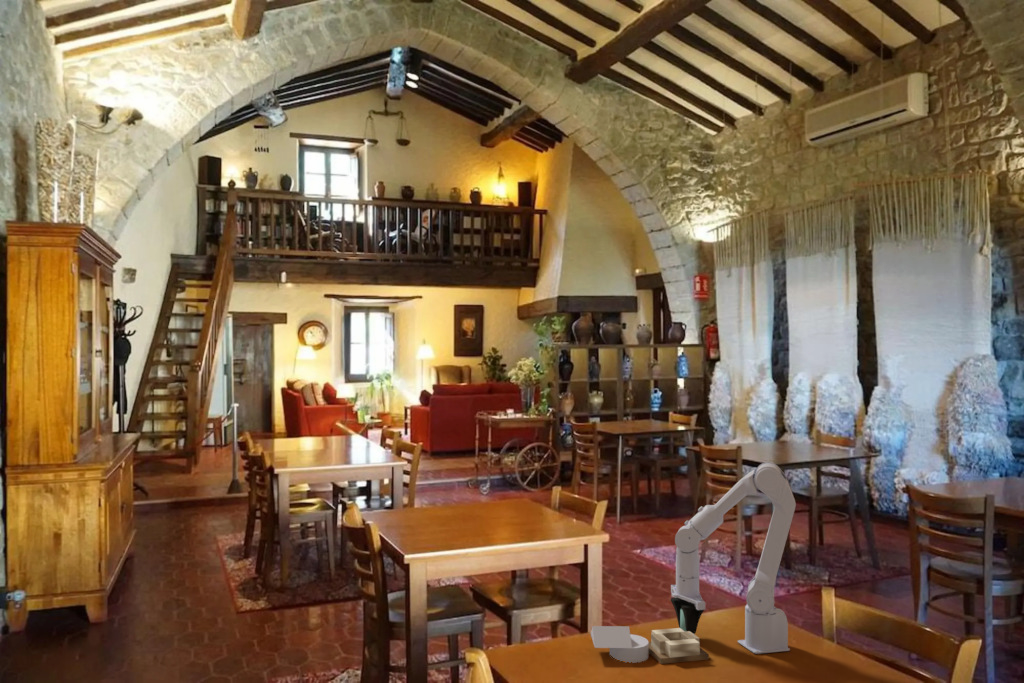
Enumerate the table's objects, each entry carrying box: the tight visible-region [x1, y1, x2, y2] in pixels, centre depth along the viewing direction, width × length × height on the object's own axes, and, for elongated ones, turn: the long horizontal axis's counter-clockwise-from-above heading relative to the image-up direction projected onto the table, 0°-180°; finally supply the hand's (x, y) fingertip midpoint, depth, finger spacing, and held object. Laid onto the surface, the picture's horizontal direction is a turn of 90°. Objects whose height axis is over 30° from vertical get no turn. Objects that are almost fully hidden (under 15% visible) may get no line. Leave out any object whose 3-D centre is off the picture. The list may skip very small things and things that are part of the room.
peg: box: [680, 608, 696, 635], centre depth 190 cm, size 4×4×7 cm
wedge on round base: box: [590, 625, 650, 664], centre depth 179 cm, size 9×7×13 cm
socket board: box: [648, 627, 710, 665], centre depth 180 cm, size 12×10×4 cm
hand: (687, 630), depth 190 cm, fingers closed on peg, 3 cm apart
